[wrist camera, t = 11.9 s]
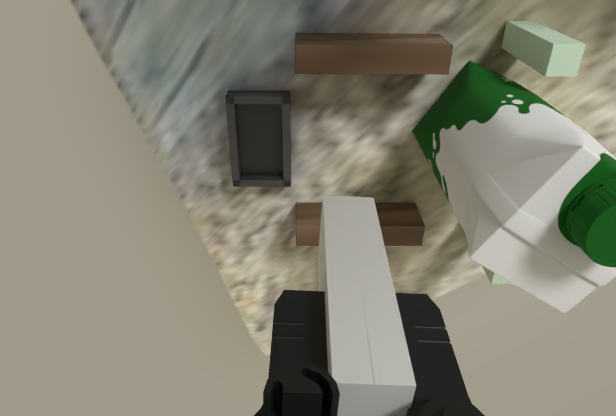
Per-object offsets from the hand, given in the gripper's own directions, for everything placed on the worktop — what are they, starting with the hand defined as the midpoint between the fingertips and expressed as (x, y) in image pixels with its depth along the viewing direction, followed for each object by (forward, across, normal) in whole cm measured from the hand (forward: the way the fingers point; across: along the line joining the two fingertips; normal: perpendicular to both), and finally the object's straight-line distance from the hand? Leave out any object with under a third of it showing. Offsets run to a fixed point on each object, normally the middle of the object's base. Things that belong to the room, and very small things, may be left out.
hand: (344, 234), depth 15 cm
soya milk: (+27, +13, -6) cm, 30 cm away
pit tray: (+26, -5, -8) cm, 28 cm away
